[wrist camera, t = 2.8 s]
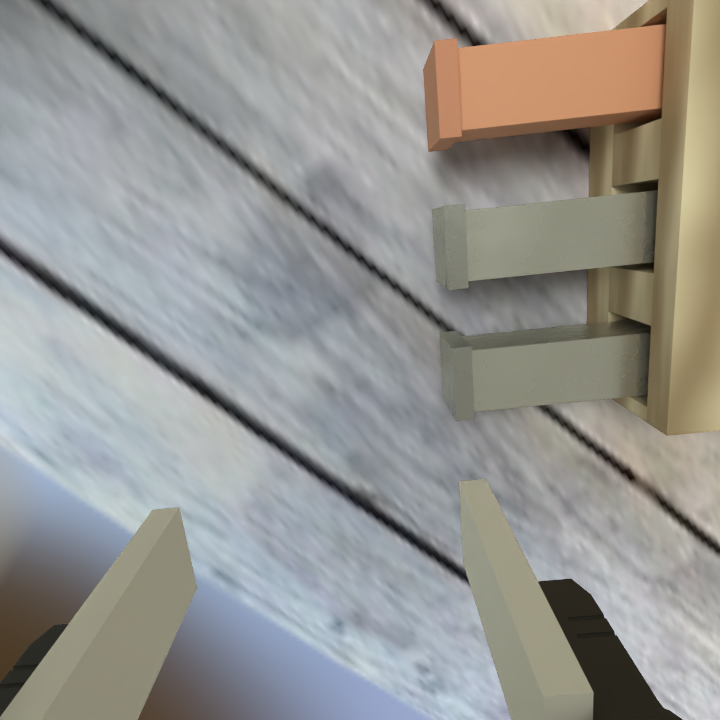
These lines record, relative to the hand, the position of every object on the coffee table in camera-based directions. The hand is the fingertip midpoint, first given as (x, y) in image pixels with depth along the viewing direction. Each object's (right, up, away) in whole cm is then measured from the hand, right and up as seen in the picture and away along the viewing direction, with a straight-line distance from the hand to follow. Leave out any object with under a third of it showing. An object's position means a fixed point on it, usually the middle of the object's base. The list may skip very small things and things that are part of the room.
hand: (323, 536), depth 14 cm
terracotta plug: (+13, +19, +12) cm, 26 cm away
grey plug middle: (+14, +12, +14) cm, 23 cm away
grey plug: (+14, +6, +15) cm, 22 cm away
